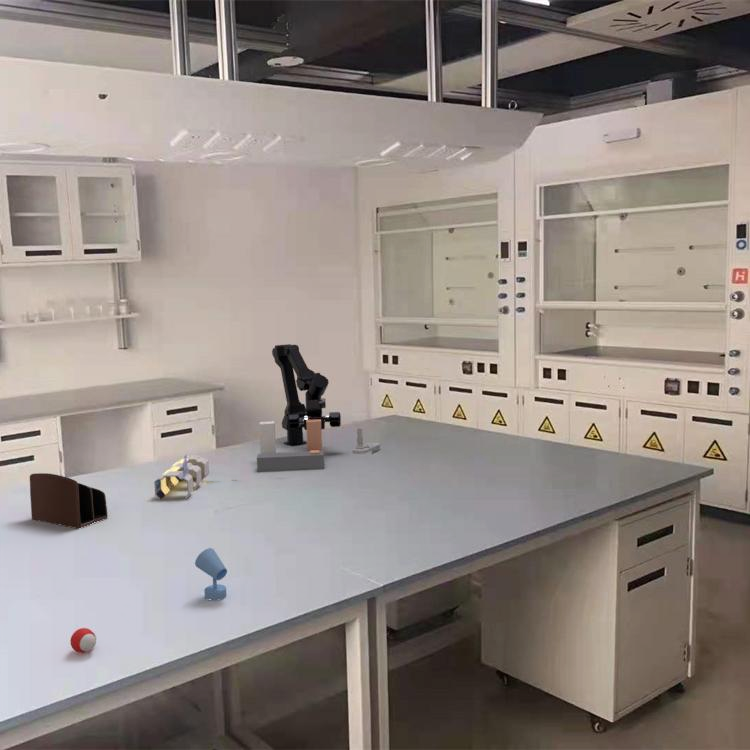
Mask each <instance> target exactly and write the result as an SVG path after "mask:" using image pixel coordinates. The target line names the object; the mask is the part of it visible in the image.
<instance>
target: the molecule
mask: <svg viewBox="0 0 750 750" xmlns="http://www.w3.org/2000/svg"><path fill="white" fill-rule="evenodd" d="M69 642H70V646H71V649H73V650H74V651H75V652H77V653H87V652H90V651H91V650H93V649H94V648H95V646H96V644H97V634H96V633H95V632H94V631H92V630H91V629H90V628H88V627H87V628H86V627H82V628H78V629H76V630H75V631H74V632H73V633H72V635H71V636H70V641H69Z"/></svg>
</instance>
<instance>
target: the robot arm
mask: <svg viewBox="0 0 750 750" xmlns="http://www.w3.org/2000/svg"><path fill="white" fill-rule="evenodd" d="M271 354H272V357H273V358H274V362H275V364H276V365H277V367H279V368H280V371H281V378H282V379H281V380H282V383H283V389H284V394H285V399H286V406H285V409H284V411H283V412H284V416H283V418H282V421H281V427H282V429H284V430H286V436H287V440H286V441H284V442H283V443H284V444H286V445H289V446H298V445H304V444H307V440H304V432H303V430H305V431H307V426H306V420H316V419H321V431H323V430H325V429H326V425H325V424H326V423H329V426H330V427H331V428H337V427H338V428H339V427H341V425H342V422H341V421H342V420H341V418H342V417H341V413H340V412H339V411H334V412H333V411H332V412H330V411H329V413H328V414H329V415H325V416H324V415H323V409H326V408H327V406H326V405H327V403H326V398H324V397H323V395H324V394H325V392H326V390H327V388H328V386H329V379H328V378H327V377H326V376H325V375H322V374H321V373H320V372H315V371H314V370H312V369H310V368H309V367H308V364H307V363H306V362H305V359H304V358H303V355H302V354H301V352H300V347H299V345H298V344H290V343H288V344H278V345H277V344H276V345H275V346H274V347H273V348H272V350H271ZM295 375H296V377H295ZM298 390H299V391H300V392H303V391H306V392H305V403H302V402H301V401H300V398H299V394H298ZM322 397H323V398H322Z"/></svg>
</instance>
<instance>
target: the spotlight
mask: <svg viewBox="0 0 750 750" xmlns="http://www.w3.org/2000/svg"><path fill="white" fill-rule="evenodd" d="M194 565H195V567H196V568H198V570H201V571H202V572H204V573H205V574H207V575H208V576H210V577H211V578H212V584H211V585H209V586H206V587H204V589H203V590H204V592H203V593H204V599H205V598H206V599H205V600H207V599H211V600H215V601H219V600H218V599H220V600H223V599H225V598H226V597H227V586H225V585H224V584H218V582H217V581H221V580H223V579H224V578H225V577H226V575H228V569H227V568H226V566H225V565H224V563H223V562H222V560H221V558H220V557H219V556H218V554H217V552H216V550H215V549H214V548H212V547H209V548H206V549H204V550H203V551H202V552H200V553H199V554H198V555H197V557H196V559H195V562H194ZM224 597H225V598H224ZM222 598H223V599H222ZM211 600H210V601H211Z"/></svg>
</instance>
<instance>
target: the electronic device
mask: <svg viewBox="0 0 750 750" xmlns="http://www.w3.org/2000/svg"><path fill="white" fill-rule="evenodd" d="M356 432H357V438H356V439H357V440H356V441H357V446H355V447H354V448H353V449H352V453H353V454H355V455H361V454H362V455H363V454H368V453H369V452H371V454H373V453H375V452H378V451H380V449H381V446H380V445H381V444H380V443H379V442H367V443H365V444H364V438H363V428H357V431H356Z"/></svg>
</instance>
